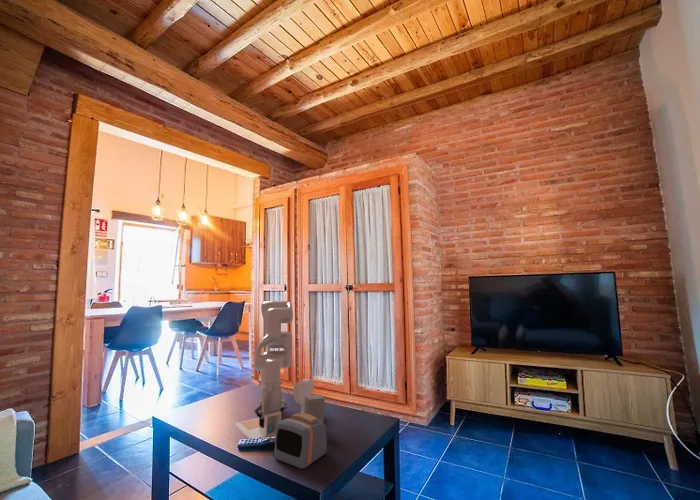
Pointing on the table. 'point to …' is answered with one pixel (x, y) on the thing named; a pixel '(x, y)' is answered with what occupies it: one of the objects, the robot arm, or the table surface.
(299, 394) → the heart sculpture
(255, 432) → the mat
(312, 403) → the skincare box
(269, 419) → the cream rectangular block
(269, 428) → the marble
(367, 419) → the table surface
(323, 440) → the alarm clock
